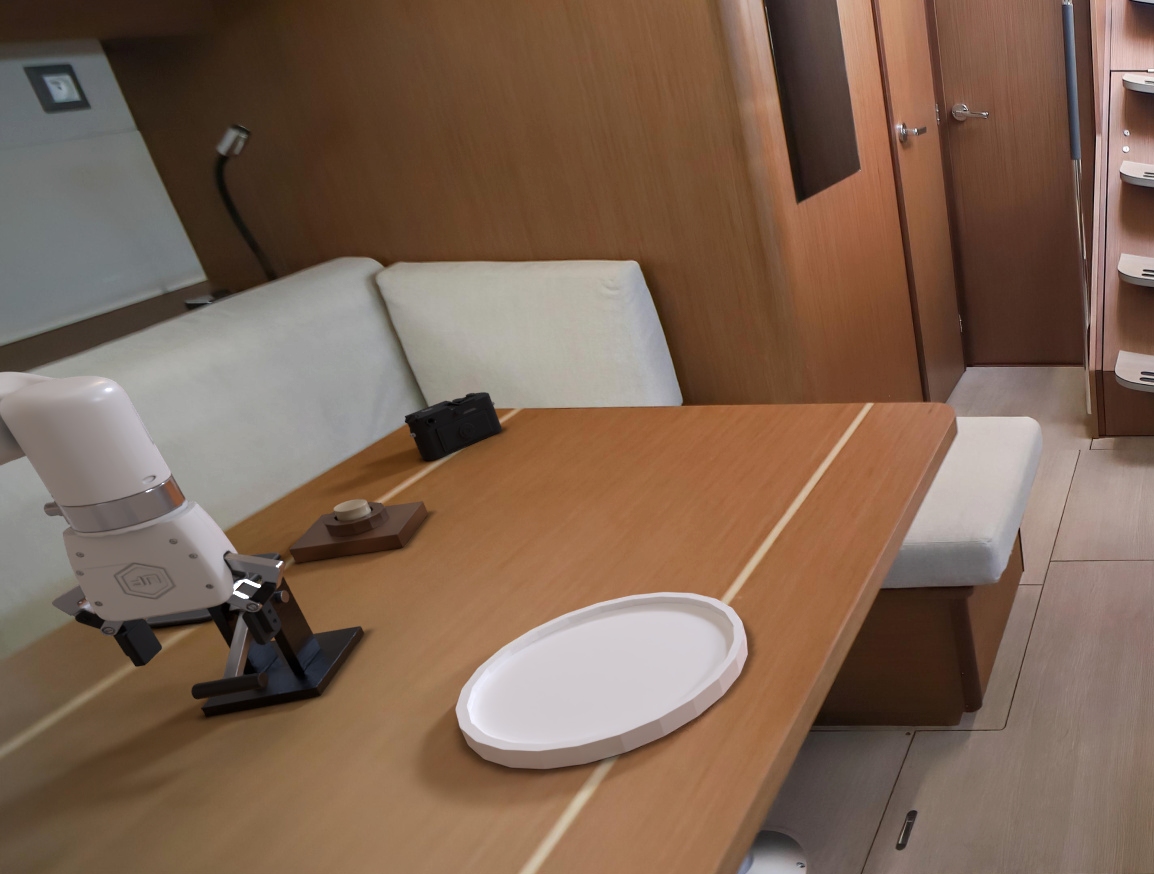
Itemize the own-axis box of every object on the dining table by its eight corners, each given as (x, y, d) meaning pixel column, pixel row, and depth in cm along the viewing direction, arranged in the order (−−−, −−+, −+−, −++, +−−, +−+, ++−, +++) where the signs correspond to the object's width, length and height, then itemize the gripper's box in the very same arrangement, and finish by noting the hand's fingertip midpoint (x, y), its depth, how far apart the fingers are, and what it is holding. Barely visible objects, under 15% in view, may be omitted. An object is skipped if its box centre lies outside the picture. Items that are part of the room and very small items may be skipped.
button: (333, 524, 133) (328, 513, 132) (344, 511, 136) (339, 501, 135) (365, 519, 134) (360, 509, 133) (375, 507, 137) (371, 497, 136)
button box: (295, 563, 130) (282, 538, 128) (328, 527, 138) (316, 503, 137) (403, 547, 134) (392, 523, 132) (428, 513, 142) (418, 490, 141)
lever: (268, 691, 102) (254, 683, 100) (202, 703, 100) (186, 695, 98) (291, 590, 108) (278, 581, 106) (229, 600, 106) (215, 590, 105)
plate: (646, 586, 127) (641, 571, 126) (800, 644, 116) (796, 628, 115) (405, 717, 104) (397, 700, 103) (570, 805, 94) (563, 786, 92)
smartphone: (136, 624, 116) (217, 557, 129) (140, 630, 117) (220, 563, 129) (211, 615, 118) (283, 550, 131) (215, 622, 118) (286, 556, 131)
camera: (480, 423, 171) (464, 382, 167) (511, 428, 169) (496, 387, 165) (397, 458, 158) (378, 414, 155) (430, 463, 157) (412, 419, 153)
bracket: (320, 695, 107) (274, 609, 102) (205, 716, 103) (151, 629, 98) (364, 633, 117) (325, 552, 112) (261, 651, 113) (215, 568, 108)
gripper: (-29, 540, 85) (75, 690, 93) (220, 506, 91) (299, 650, 98) (31, 501, 91) (123, 644, 99) (260, 472, 97) (331, 610, 104)
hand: (211, 647), depth 98 cm, fingers open, 9 cm apart
